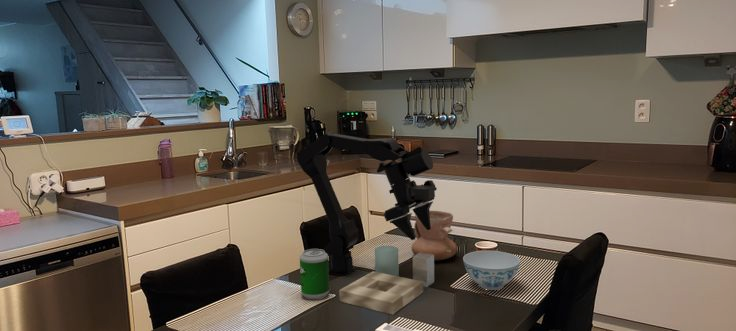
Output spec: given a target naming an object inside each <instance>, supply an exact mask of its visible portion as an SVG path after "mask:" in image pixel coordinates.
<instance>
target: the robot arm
mask: <svg viewBox="0 0 736 331" xmlns="http://www.w3.org/2000/svg"><path fill="white" fill-rule="evenodd" d="M333 148H334V149H338V150H343V151H349V152H354V153H355V152H356V153H361V154H364V155H366V156H369V158H372V159H374V160H377V161H379V162H380V163H379V164H378V167H377V169H376V173H378V174H379V173H382V172H384V174H385V177H386V178H387V181H388V183H389V186H390V188H391V189H389V190H388V192H389V194H390V195H391V194H393V196H394V198H395V200H396V203H395V204H394V206H393V207H390V208H388V209H387V210H385V211H384V212H383V217H384V219H385V222H389V224H393V225H394V226H395V227H397V228H398V230H400V231H401V232H402V233H403V234H404V235H405V236H407V238H409V239H410V240H411V241H414V240H416V234H415V230H414V229H413V226H412V225H413V224H412V222H411V218H412V214H413V213H414V215H415V214H416V216H417V217H418V218H419V220H420V221H421V223H422V224H423V226H424V227H425V228H426V229H427V230H430V229H431V225H430V214H429V211H430V210H431V207H432V204H434V200H435V197H436V191H437V190H438V189H437V187H436V184H435V182H434V181H433V180H432V179H431V180H430V179H428V180H425V181H424V183H423V184H420V185H419V184H418V185H417V183H416V181H415V180H411V179H410V176H412V177H415V176H417V175H420V174H423V173H425V172H428V171H430V170H433V168H434V161H433V159H432V156H431V155H430V154H429V153H428V152H427V150H426V149H425V148H424V146H423V145H421V146H418V147H416V148H414V149H413V150H410V151H409V150H407V149H405V148H404V147H403V146H401V145H400V144H399V143H398V141H397V140H396V139H395V138H393V137H392V138H391V137H389V138H372V139H369V138H364V137H359V136H358V137H357V136H352V135H345V134H339V133H335V132H327V133H323V134H322V135H321V136H320V137H319V138H318V139H316V140H314V141H313V142H311V144H309V145H307V147H303V148H300V149H299V151H298V152H297V155H296V161H297V163H298V165H299V166H300V167H299V168H301V170H302V171H303V172H304V174H306V175H307V176H308V177H309V178H310V180H311V181H312V184H313V186H314V188H315V191H316V193H317V196H318V198H319V200H320V203H321V206H322V207H323V210H324V212H325V214H326V217H327V220H328V222H329V230H328V232H329V238H330V241H329V242H328V243H327V244H326V245H325V246H324V248H323V250H324V251H325V253H327V254H328V268H329V274H332V275H337V276H342V277H343V276H346V275H348V274H350V273H351V272H353V271H354V270H355V269H356V268H355V267H354V266H353V264H354V262H353V256H352V251H351V250H352V249H354V247H355V244H356V243H358V241H359V240H358V239H359V232H360V229H359V228H358V227H357V226H356V221H355V219H354V218H352V219H348V218H347V217H346V215H345V214H344V212H343V209H342V207H341V204H340V202H339V200H338V197H337V194H336V192H335V190H334V187H333V185H332V183H331V180H330V178H329V175H328V174H327V159H326V156H327V155H328V154H330V152H331V151H332V150H333ZM397 160H401V161H397ZM386 161H389V162H386ZM385 162H386V163H385ZM409 175H410V176H409ZM410 209H412V211H413V213H412V212H410V211H411V210H410Z"/></svg>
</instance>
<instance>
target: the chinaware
mask: <svg viewBox="0 0 736 331" xmlns="http://www.w3.org/2000/svg"><path fill="white" fill-rule="evenodd" d="M462 261H463V265H464V268H465V270H466V273H467V275H468V276H469V277H470V279H471V280H473V282H474V283H476V284H478V287H479V288H480V287H481V288H483V289H482V290H484V289H487V290H486V291H489V290H497V291H500V290H499V289H501V290H503V289H504V286H505V285H507V284H508V283H510V282H511V281H512V280H513V279H514V277H515V276H516V275H517V272H518V270H519V268H520V265H521V264H520V263H521V259H520V258H519V257H518V256H516V255H514V254H512V253H509V252H505V251H499V250H476V251H471V252H468V253H466V254H465V255H464V256H463V257H462ZM481 288H480V289H481ZM502 288H503V289H502Z"/></svg>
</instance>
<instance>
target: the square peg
mask: <svg viewBox="0 0 736 331" xmlns="http://www.w3.org/2000/svg"><path fill="white" fill-rule="evenodd" d="M412 279H413V280H418V281H423V288H424V287H425V288H428V287H429V286H431V285H432V284H433V283H435V261H434V255H433V254H427V253H421V252H420V253H418V254H416V255H415V254H414V255H413V256H412Z"/></svg>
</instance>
